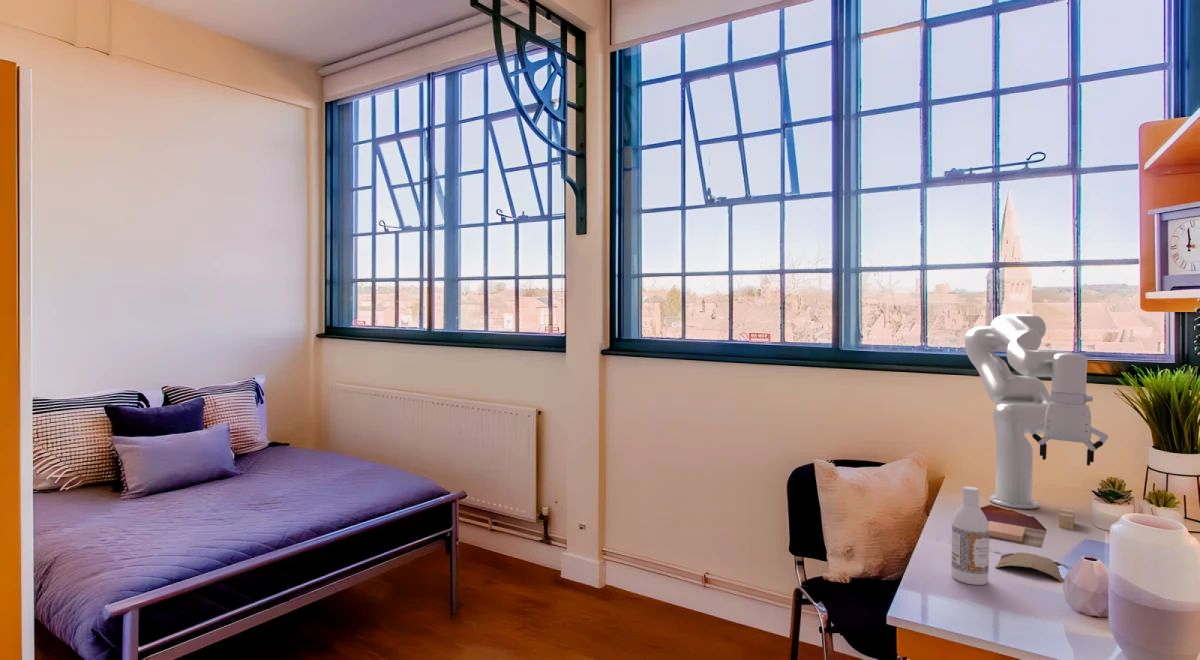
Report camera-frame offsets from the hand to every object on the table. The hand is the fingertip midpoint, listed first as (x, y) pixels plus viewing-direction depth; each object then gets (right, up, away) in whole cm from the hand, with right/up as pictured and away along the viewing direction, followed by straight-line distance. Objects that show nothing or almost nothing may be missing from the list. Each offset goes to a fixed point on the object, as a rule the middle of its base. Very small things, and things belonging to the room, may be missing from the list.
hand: (1066, 461), depth 169 cm
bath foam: (-46, -19, -33) cm, 60 cm away
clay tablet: (-28, -20, -27) cm, 43 cm away
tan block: (-2, -19, -3) cm, 19 cm away
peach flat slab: (-19, -16, -4) cm, 25 cm away
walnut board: (-19, -19, -7) cm, 28 cm away
